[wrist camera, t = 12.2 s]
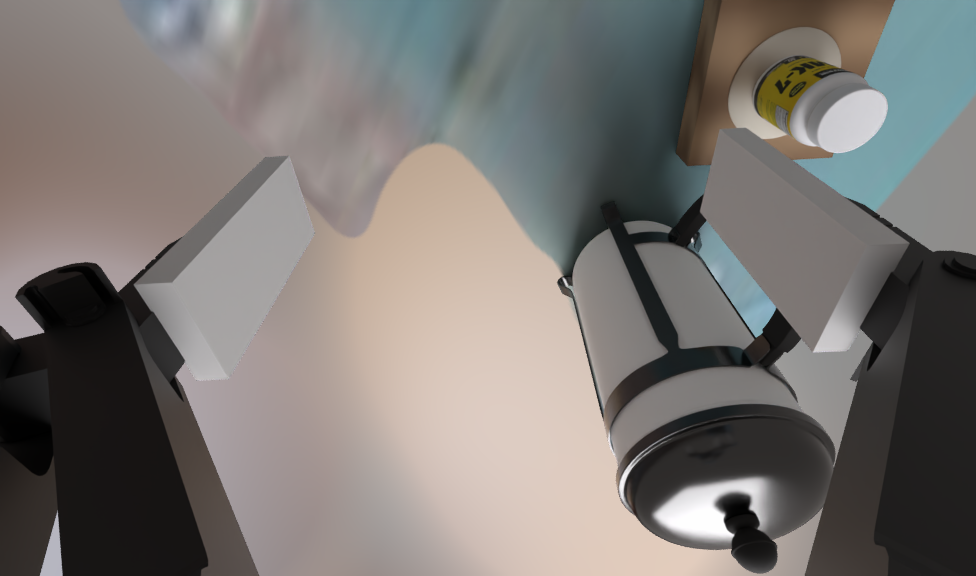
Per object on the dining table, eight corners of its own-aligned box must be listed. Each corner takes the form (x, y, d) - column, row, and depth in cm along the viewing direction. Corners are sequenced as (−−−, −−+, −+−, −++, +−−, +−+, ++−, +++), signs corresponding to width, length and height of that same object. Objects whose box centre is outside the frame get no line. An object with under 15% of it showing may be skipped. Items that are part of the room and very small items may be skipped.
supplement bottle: (812, 40, 33) (895, 64, 26) (821, 98, 36) (899, 135, 29) (743, 76, 35) (806, 109, 28) (756, 130, 37) (817, 172, 30)
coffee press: (713, 290, 51) (918, 600, 27) (572, 327, 54) (642, 634, 30) (702, 145, 41) (1008, 430, 17) (530, 201, 44) (584, 507, 20)
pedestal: (705, -4, 34) (723, 0, 32) (870, -16, 34) (902, -13, 31) (675, 153, 41) (688, 166, 39) (811, 144, 41) (833, 158, 38)
